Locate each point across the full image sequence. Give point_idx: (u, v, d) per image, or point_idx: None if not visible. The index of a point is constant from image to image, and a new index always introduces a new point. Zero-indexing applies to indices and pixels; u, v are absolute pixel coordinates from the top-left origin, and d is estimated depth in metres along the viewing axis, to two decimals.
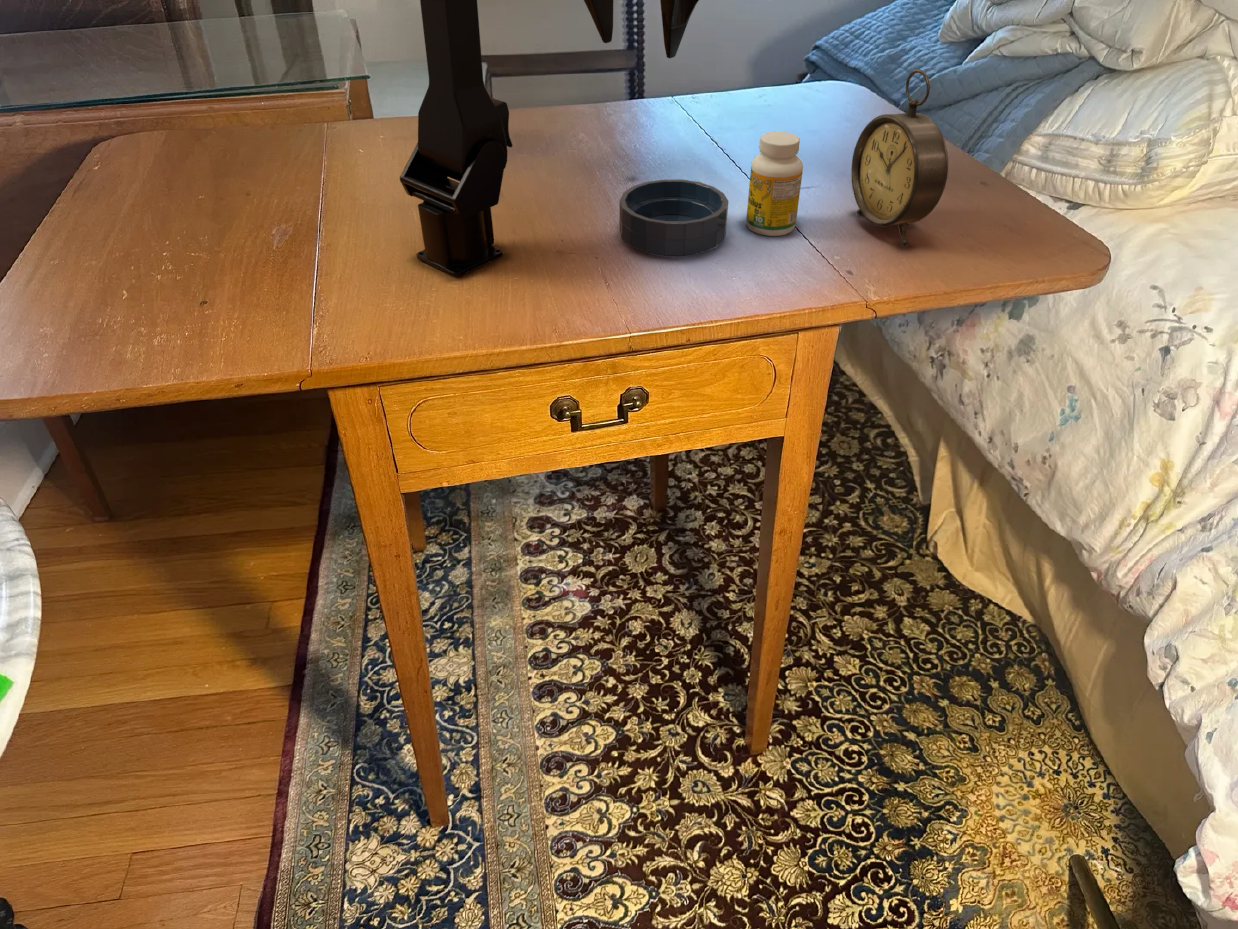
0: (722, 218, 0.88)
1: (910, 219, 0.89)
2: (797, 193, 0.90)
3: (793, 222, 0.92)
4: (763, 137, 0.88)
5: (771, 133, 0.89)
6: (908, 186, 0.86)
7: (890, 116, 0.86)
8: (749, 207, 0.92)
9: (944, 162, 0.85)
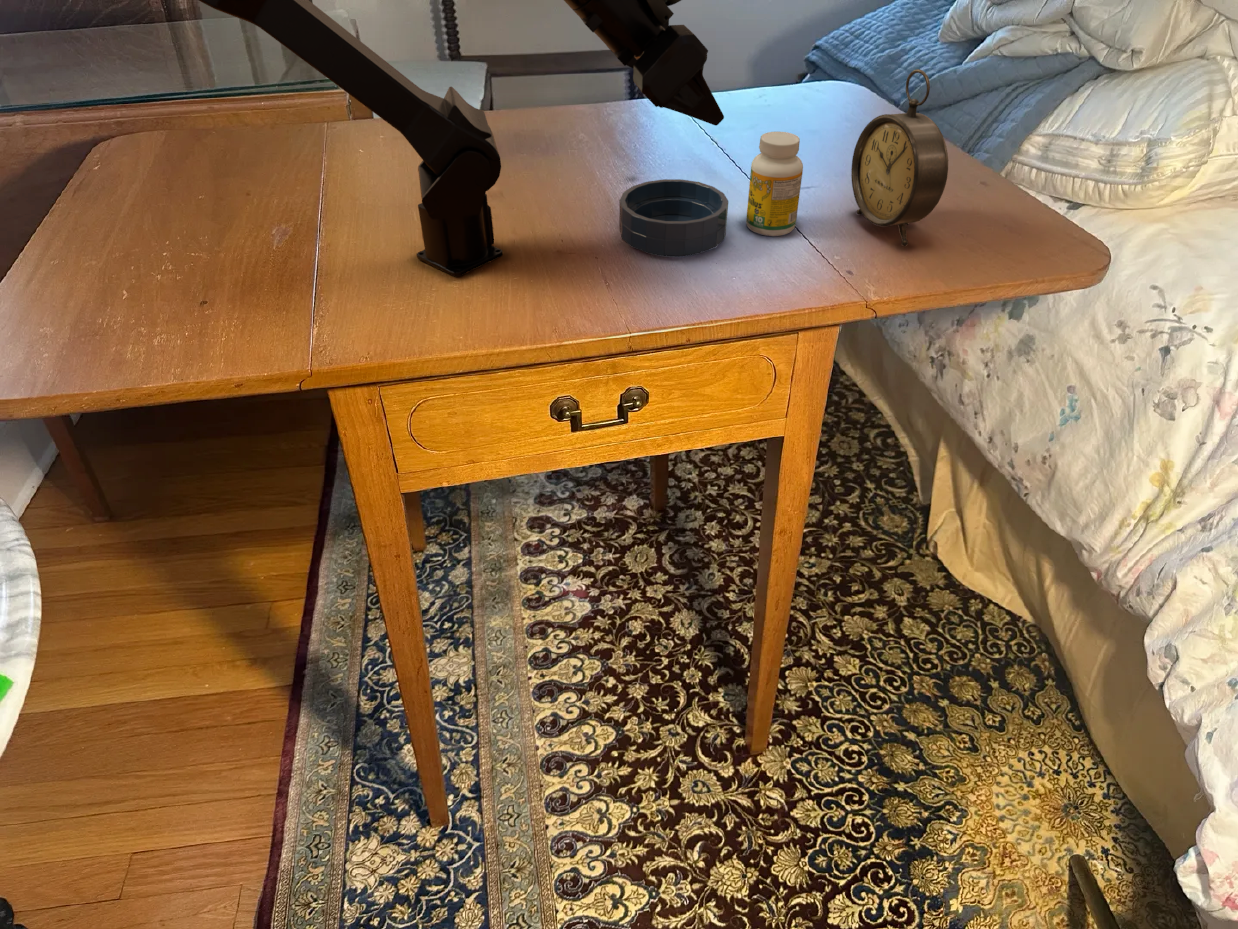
0: (722, 218, 0.88)
1: (910, 219, 0.89)
2: (797, 193, 0.90)
3: (793, 222, 0.92)
4: (763, 137, 0.88)
5: (771, 133, 0.89)
6: (908, 186, 0.86)
7: (890, 116, 0.86)
8: (749, 207, 0.92)
9: (944, 162, 0.85)
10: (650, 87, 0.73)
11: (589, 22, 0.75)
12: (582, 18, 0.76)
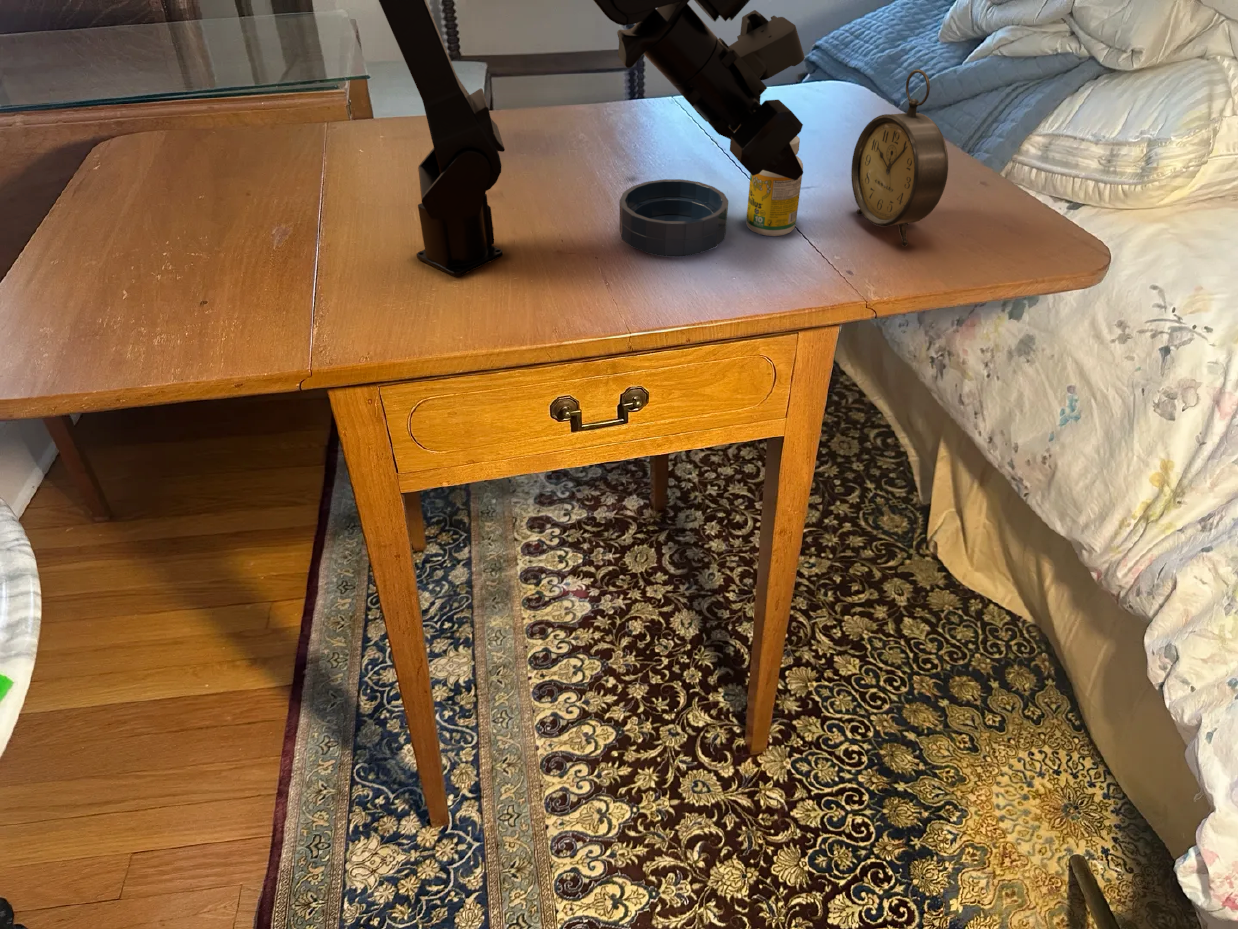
0: (722, 218, 0.88)
1: (910, 219, 0.89)
2: (797, 193, 0.90)
3: (793, 222, 0.92)
4: None
5: None
6: (908, 186, 0.86)
7: (890, 116, 0.86)
8: (749, 207, 0.92)
9: (944, 162, 0.85)
10: (749, 158, 0.79)
11: (689, 97, 0.81)
12: (681, 92, 0.82)
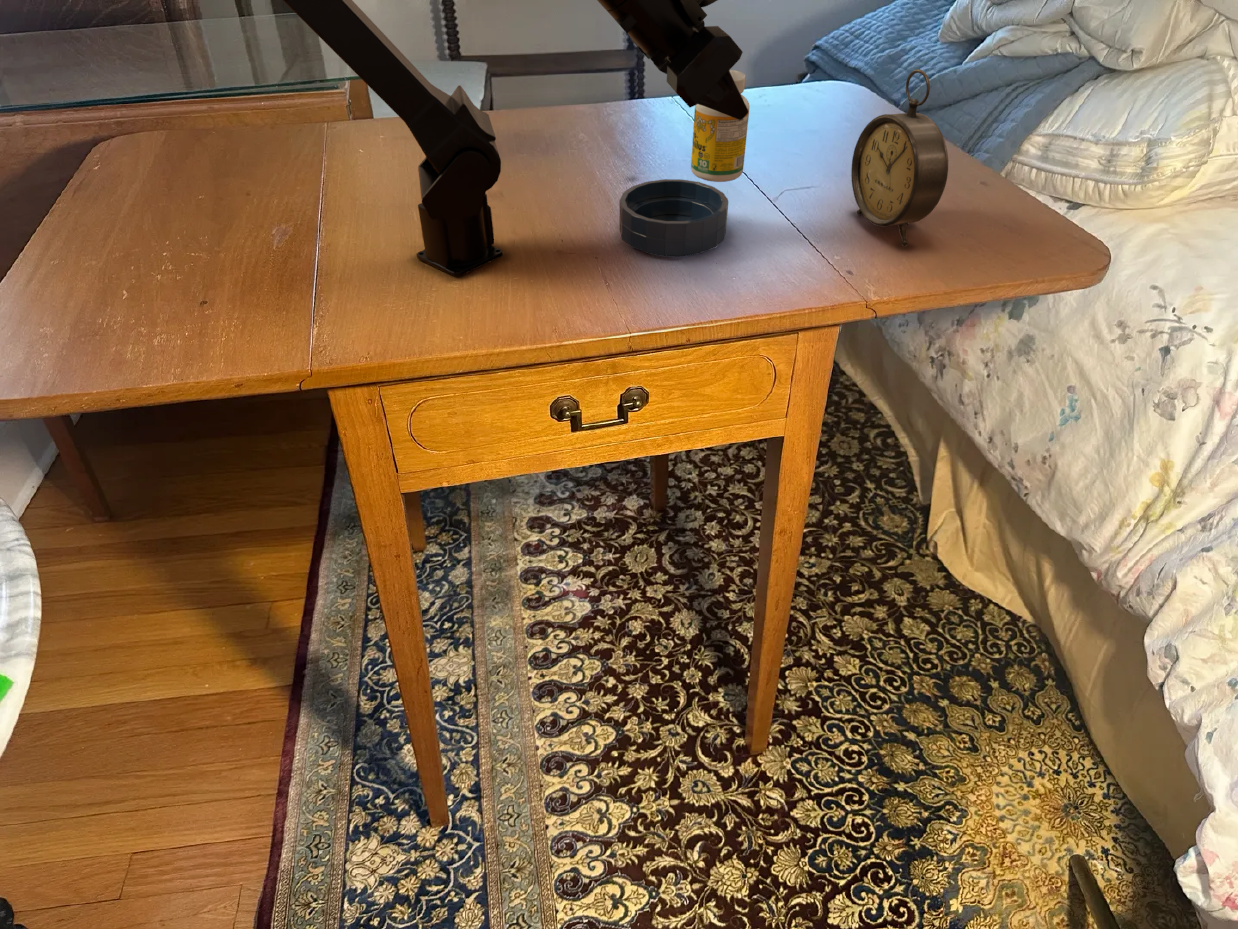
0: (722, 218, 0.88)
1: (910, 219, 0.89)
2: (743, 135, 0.85)
3: (739, 167, 0.87)
4: None
5: None
6: (908, 186, 0.86)
7: (890, 116, 0.86)
8: (693, 151, 0.87)
9: (944, 162, 0.85)
10: (685, 87, 0.73)
11: (623, 23, 0.75)
12: (616, 19, 0.77)
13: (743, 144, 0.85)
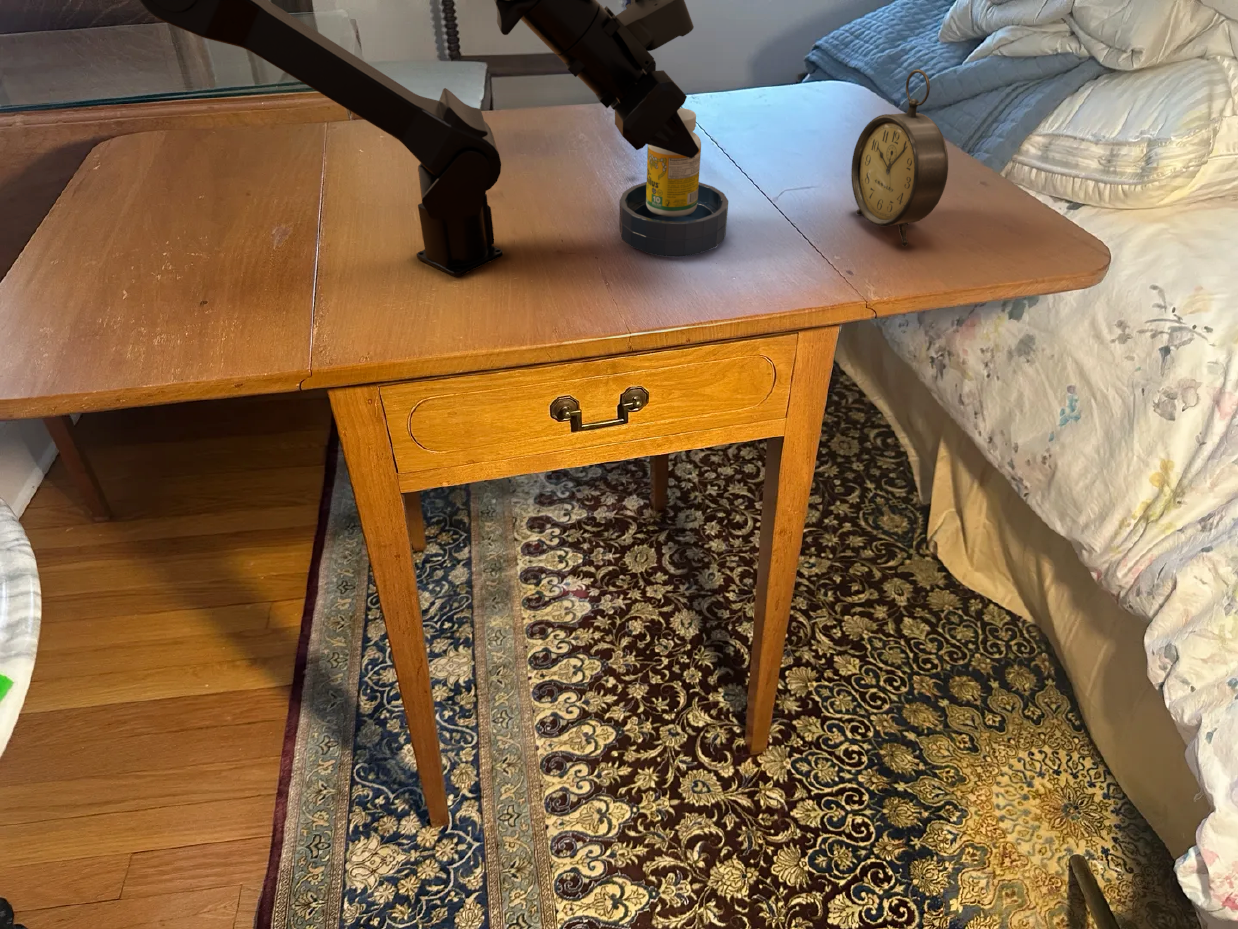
0: (722, 218, 0.88)
1: (910, 219, 0.89)
2: (695, 172, 0.86)
3: (693, 202, 0.88)
4: None
5: None
6: (908, 186, 0.86)
7: (890, 116, 0.86)
8: (647, 187, 0.88)
9: (944, 162, 0.85)
10: (630, 131, 0.75)
11: (572, 67, 0.77)
12: (565, 63, 0.78)
13: (696, 180, 0.87)
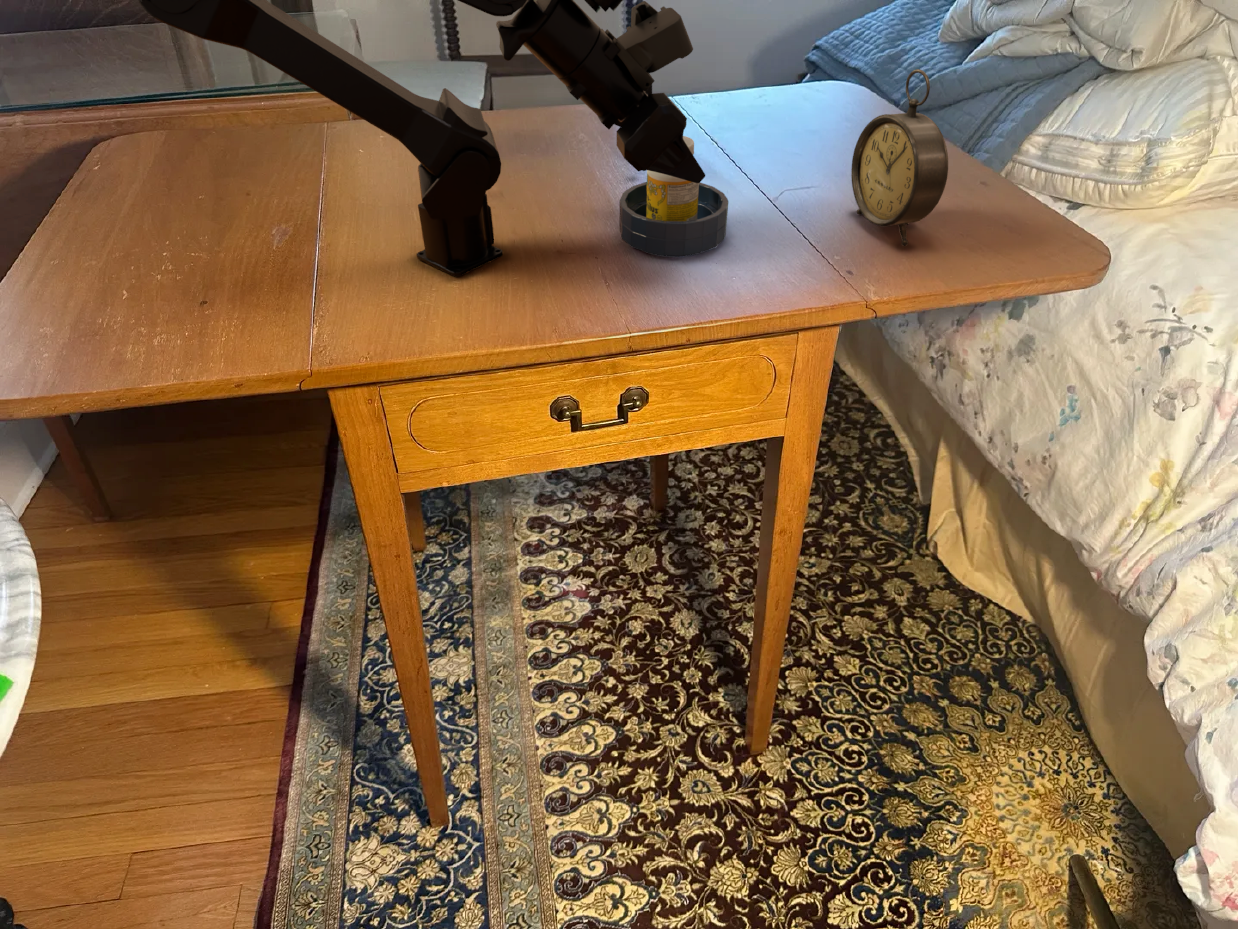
0: (722, 218, 0.88)
1: (910, 219, 0.89)
2: (694, 198, 0.88)
3: None
4: None
5: None
6: (908, 186, 0.86)
7: (890, 116, 0.86)
8: (647, 212, 0.90)
9: (944, 162, 0.85)
10: (632, 154, 0.76)
11: (573, 90, 0.78)
12: (567, 86, 0.79)
13: (694, 206, 0.89)
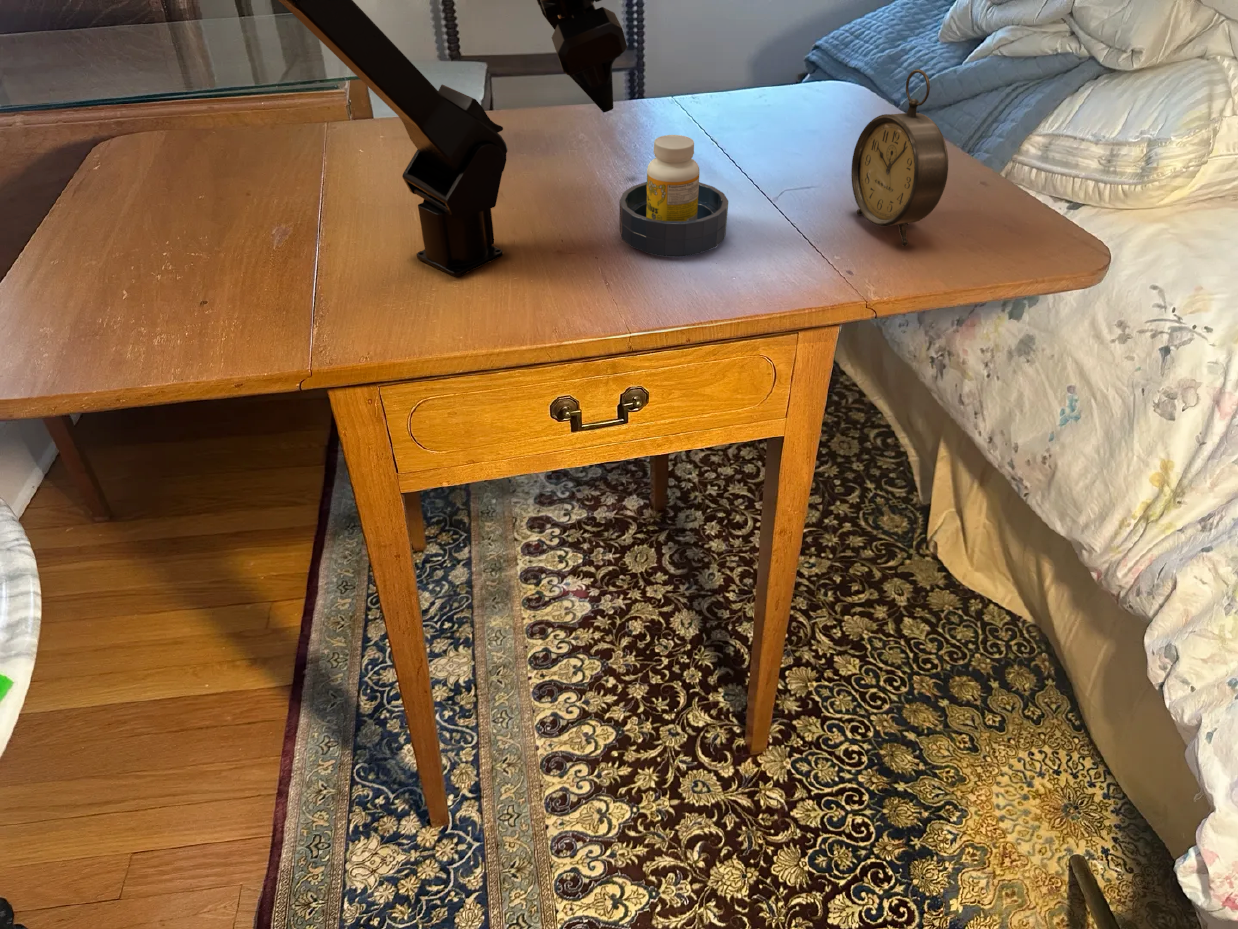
0: (722, 218, 0.88)
1: (910, 219, 0.89)
2: (694, 198, 0.88)
3: None
4: (657, 140, 0.86)
5: (666, 136, 0.87)
6: (908, 186, 0.86)
7: (890, 116, 0.86)
8: (647, 212, 0.90)
9: (944, 162, 0.85)
10: (566, 53, 0.77)
11: None
12: None
13: (694, 206, 0.89)
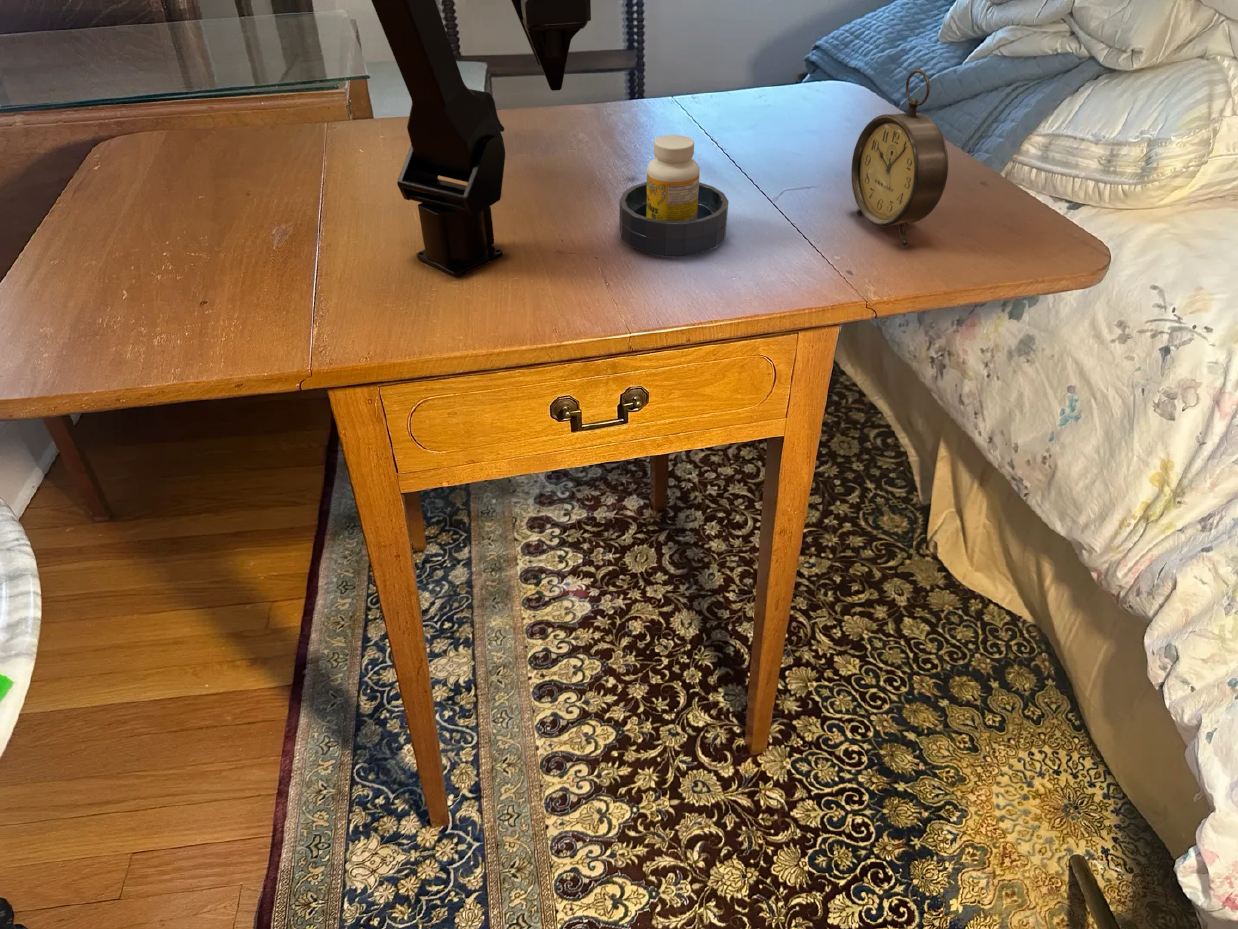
0: (722, 218, 0.88)
1: (910, 219, 0.89)
2: (694, 198, 0.88)
3: None
4: (657, 140, 0.86)
5: (666, 136, 0.87)
6: (908, 186, 0.86)
7: (890, 116, 0.86)
8: (647, 212, 0.90)
9: (944, 162, 0.85)
10: (534, 3, 0.79)
11: None
12: None
13: (694, 206, 0.89)
